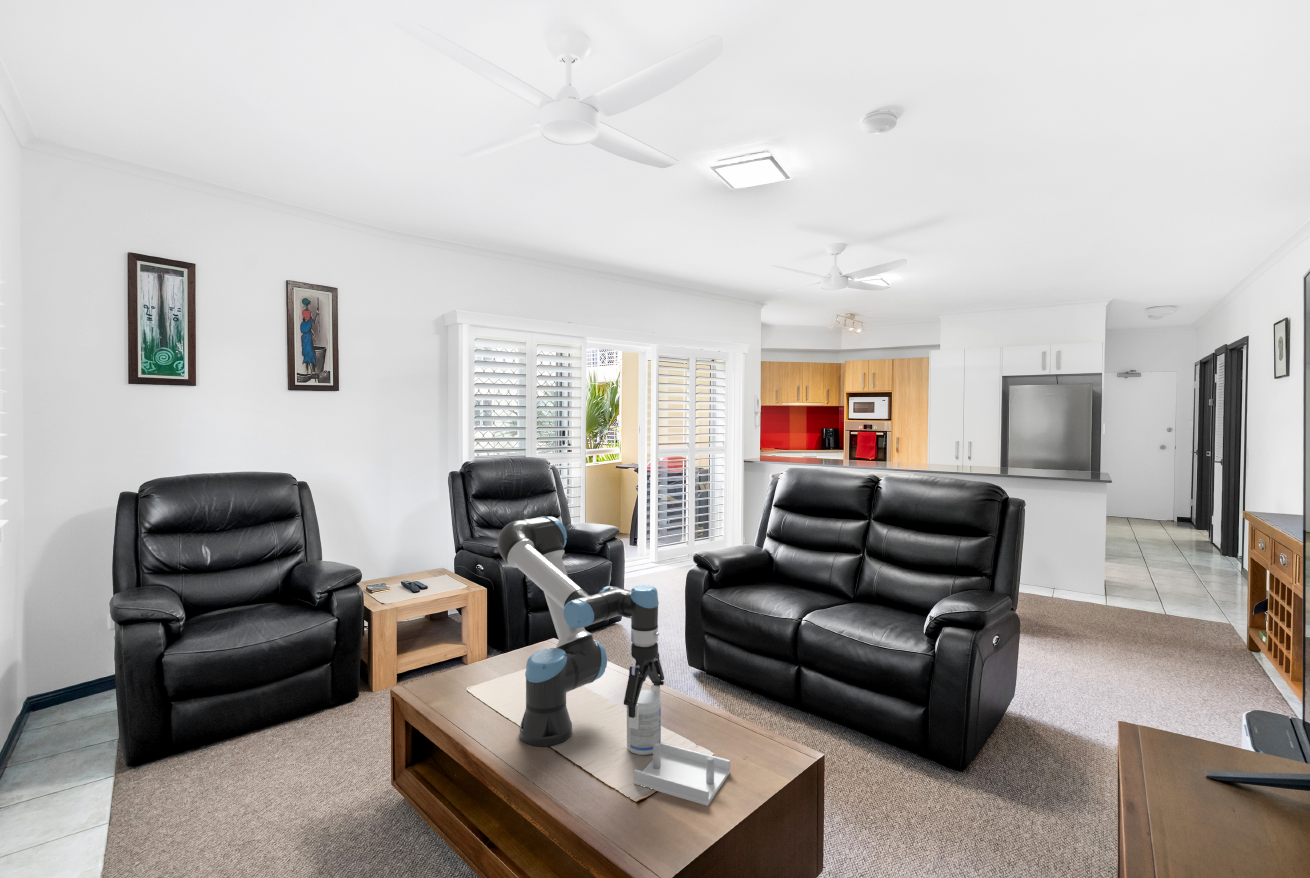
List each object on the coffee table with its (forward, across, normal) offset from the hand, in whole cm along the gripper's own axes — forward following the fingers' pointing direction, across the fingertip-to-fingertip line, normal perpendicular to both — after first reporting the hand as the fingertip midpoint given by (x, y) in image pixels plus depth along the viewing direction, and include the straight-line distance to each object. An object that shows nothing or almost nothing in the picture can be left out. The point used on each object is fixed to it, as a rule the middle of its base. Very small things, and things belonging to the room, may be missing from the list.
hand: (644, 717), depth 181 cm
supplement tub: (+9, 0, 0) cm, 9 cm away
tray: (+9, -9, -16) cm, 20 cm away
